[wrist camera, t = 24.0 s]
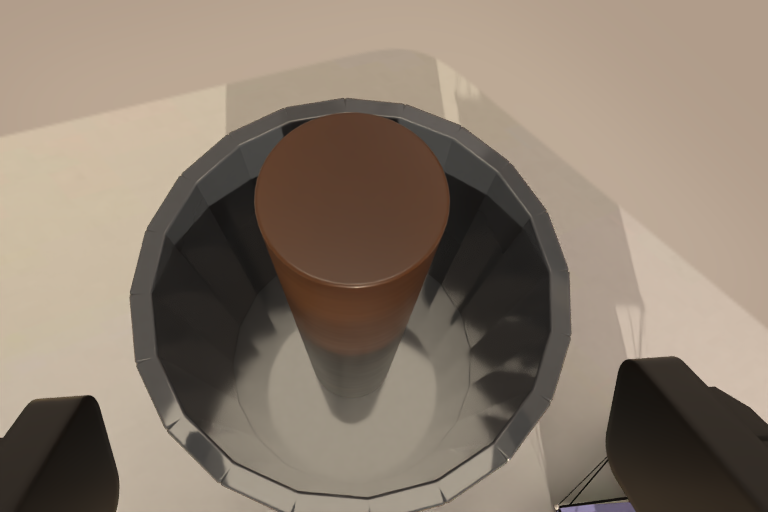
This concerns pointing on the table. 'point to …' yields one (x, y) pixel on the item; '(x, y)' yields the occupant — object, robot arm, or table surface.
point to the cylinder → (351, 238)
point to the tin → (291, 361)
